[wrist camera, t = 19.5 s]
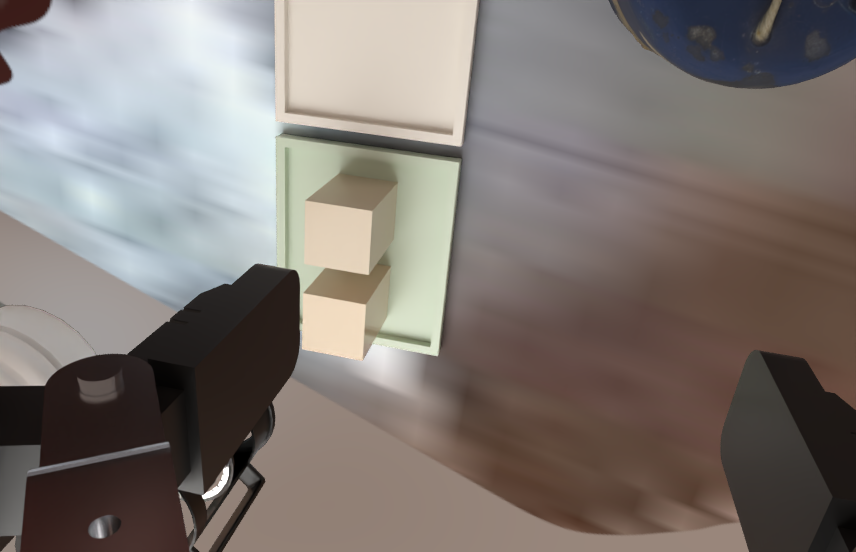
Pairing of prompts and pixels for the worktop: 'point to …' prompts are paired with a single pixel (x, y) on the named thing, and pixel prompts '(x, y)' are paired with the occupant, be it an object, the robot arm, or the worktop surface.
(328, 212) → the beige block
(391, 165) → the bin
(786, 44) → the canister
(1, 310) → the honey pot
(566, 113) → the worktop surface
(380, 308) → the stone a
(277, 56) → the bin
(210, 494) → the french press
